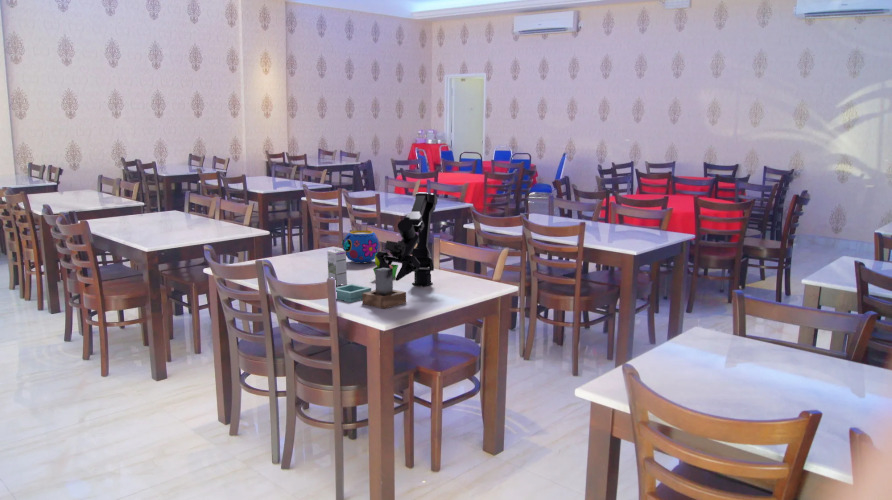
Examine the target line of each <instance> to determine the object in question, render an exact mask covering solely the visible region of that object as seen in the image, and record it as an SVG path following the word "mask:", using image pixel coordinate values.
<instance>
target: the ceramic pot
mask: <svg viewBox="0 0 892 500" xmlns="http://www.w3.org/2000/svg"><path fill="white" fill-rule="evenodd" d="M341 245H342V250H344V251H346V259H348V260H350V261H351V262H353V263H356V262H360V263H359V264H365V263H364V262H367V263H370V262H372V261H373V260H374V261H375V254H376V253H378V252H379V251H380V250H381V249H380V248H381V245H380V239H379V238H378V236H377V234H376V233H375V232H374V231H372V230H363V229H362V230H351V231H349V232H348V233H347V234H346V236H345V237H344V238H342V241H341Z"/></svg>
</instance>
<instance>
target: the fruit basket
mask: <svg viewBox="0 0 892 500" xmlns="http://www.w3.org/2000/svg"><path fill="white" fill-rule="evenodd" d="M376 254H377V253H376ZM376 254H375V259H374V262H375V266H376V267H374V268H373V269H372V270H373V272H374V274H375V269H379V264H380V262H379V260H378V259H377V257H376ZM389 266H390V267H389V269H392V273H393V278H396V276H397V275H396V274H397V271H398V267H399V264H393V263H392V264H391V265H389Z"/></svg>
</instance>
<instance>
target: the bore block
mask: <svg viewBox="0 0 892 500" xmlns="http://www.w3.org/2000/svg"><path fill="white" fill-rule="evenodd" d="M362 297H363V299H362V304H363V305H366V306H371V307H375V308H380V309H383V310H386V309H389V308H392V307H396V306H399V305H403V304H406V303H407V292H406V291H402V290H397V289H393V294H391V295H387V296H381V295H376V289H374V290H371V291H370V292H366V293H362Z"/></svg>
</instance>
